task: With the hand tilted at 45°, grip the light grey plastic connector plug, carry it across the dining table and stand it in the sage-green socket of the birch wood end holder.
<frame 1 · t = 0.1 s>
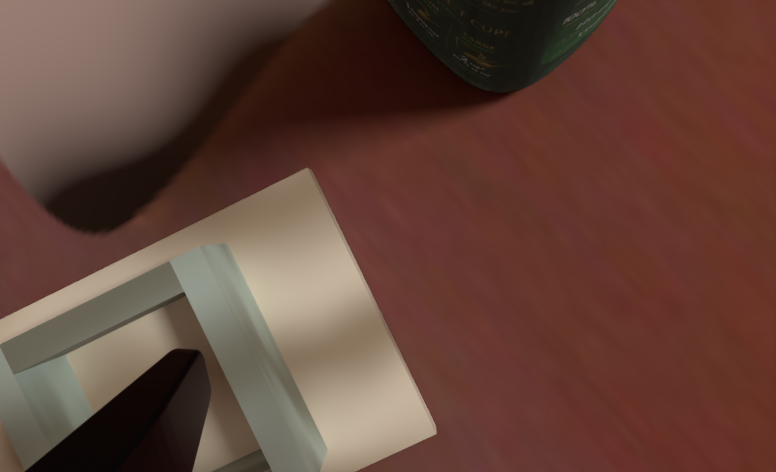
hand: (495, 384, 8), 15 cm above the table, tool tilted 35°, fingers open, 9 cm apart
end holder: (186, 387, 24), on the table
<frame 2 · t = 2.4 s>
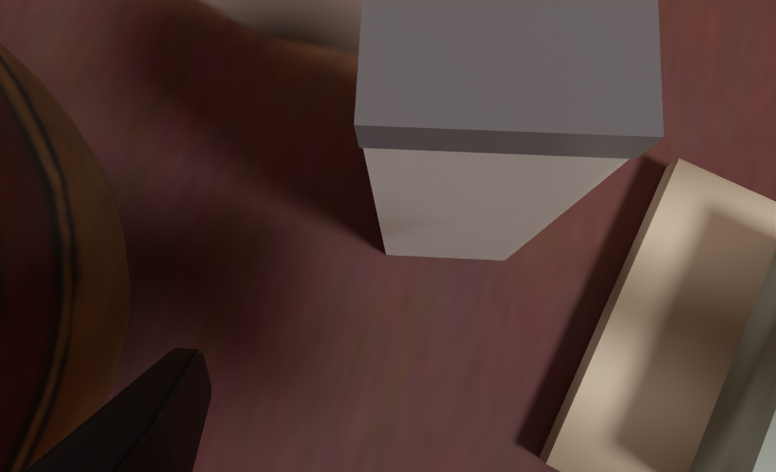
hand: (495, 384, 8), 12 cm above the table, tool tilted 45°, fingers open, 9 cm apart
connector plug: (446, 200, 21), on the table
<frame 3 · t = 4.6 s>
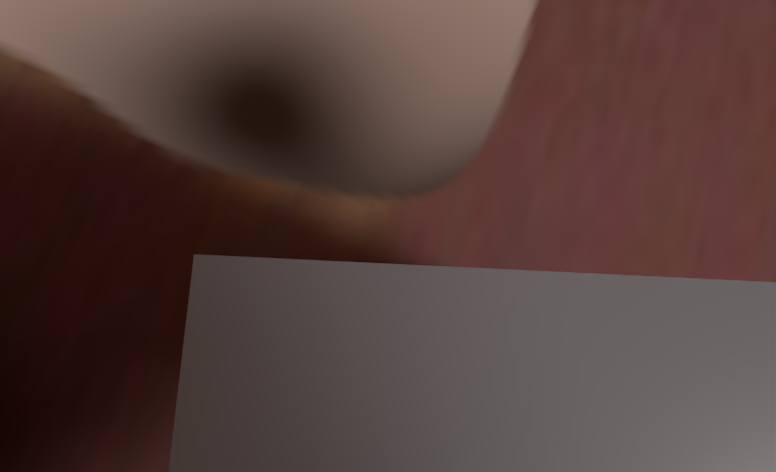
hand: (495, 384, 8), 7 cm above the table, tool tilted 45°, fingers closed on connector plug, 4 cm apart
connector plug: (454, 418, 15), on the table, touching gripper
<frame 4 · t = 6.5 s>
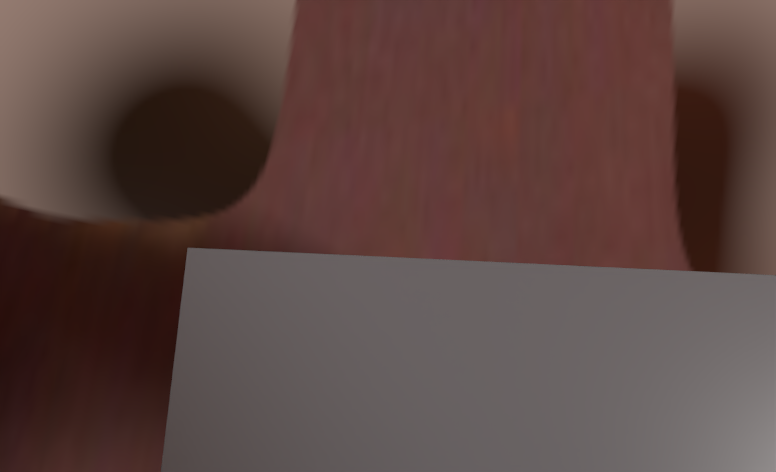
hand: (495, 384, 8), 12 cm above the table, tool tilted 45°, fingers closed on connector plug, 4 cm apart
connector plug: (453, 417, 15), point 6 cm above the table, touching gripper
when the fingers open (9 cm above the table, at t = 8.4 s): connector plug drops 2 cm, resting on end holder.
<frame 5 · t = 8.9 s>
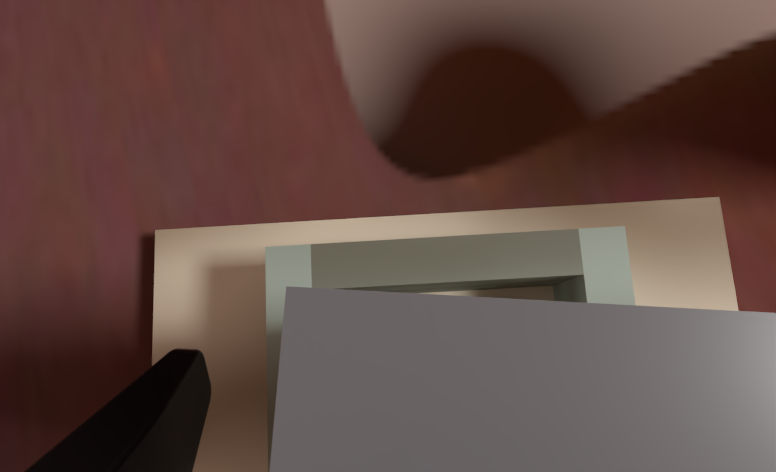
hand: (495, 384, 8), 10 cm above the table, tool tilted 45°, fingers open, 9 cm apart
end holder: (445, 405, 18), on the table
connector plug: (447, 407, 17), point 1 cm above the table, touching end holder
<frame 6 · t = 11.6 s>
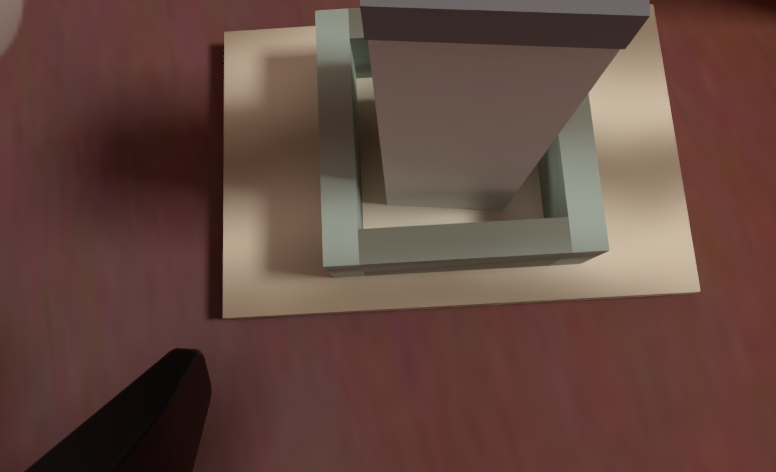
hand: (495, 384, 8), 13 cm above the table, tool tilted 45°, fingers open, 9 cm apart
end holder: (446, 162, 23), on the table
connector plug: (447, 153, 22), point 1 cm above the table, touching end holder
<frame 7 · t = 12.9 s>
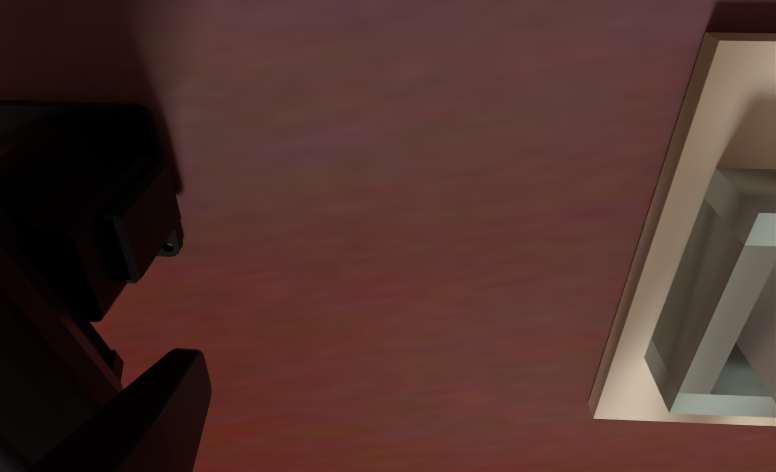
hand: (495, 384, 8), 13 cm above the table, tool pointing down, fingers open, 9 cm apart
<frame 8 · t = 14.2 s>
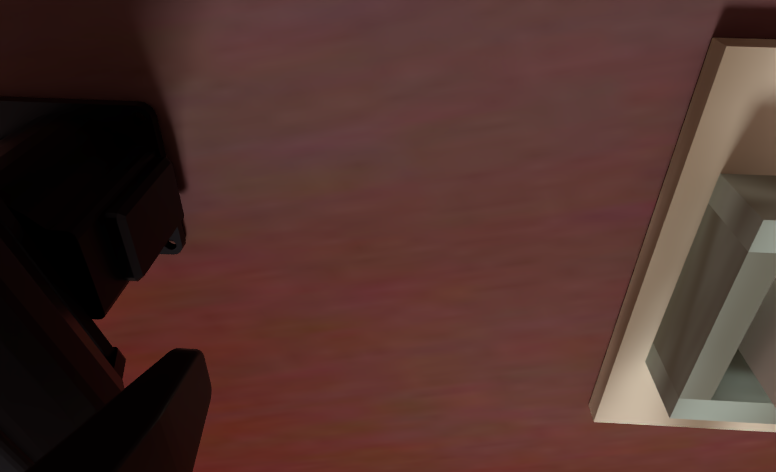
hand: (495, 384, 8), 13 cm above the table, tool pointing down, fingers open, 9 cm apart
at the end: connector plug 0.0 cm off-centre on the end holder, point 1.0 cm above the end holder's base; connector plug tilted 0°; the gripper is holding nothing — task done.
